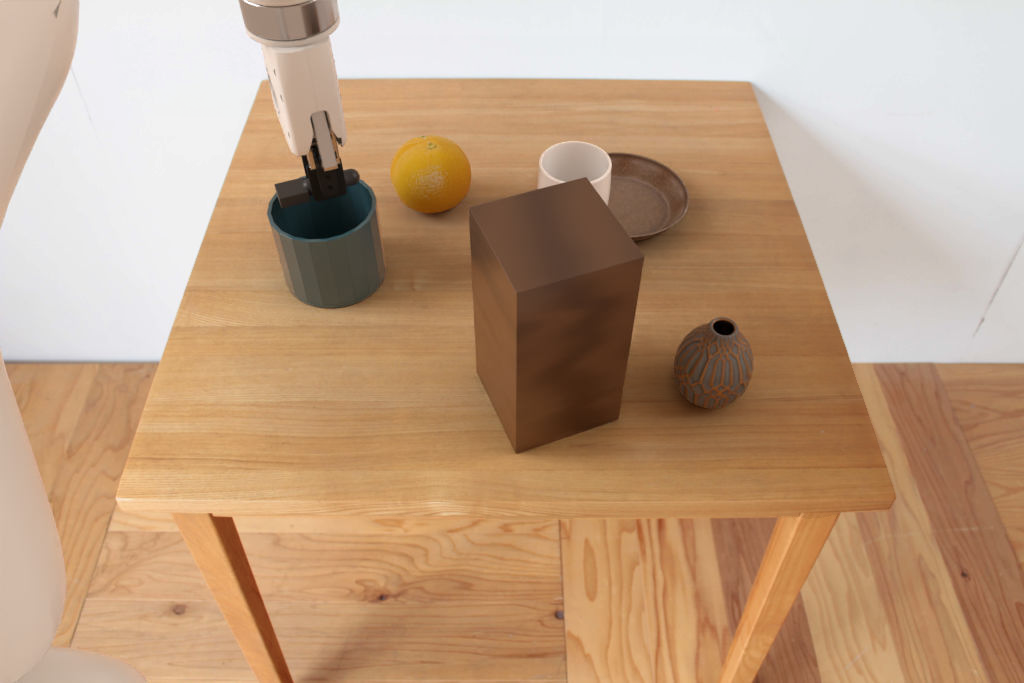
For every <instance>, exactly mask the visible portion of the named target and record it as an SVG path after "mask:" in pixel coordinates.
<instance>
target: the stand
mask: <svg viewBox="0 0 1024 683" xmlns="http://www.w3.org/2000/svg"><path fill="white" fill-rule="evenodd" d="M468 224H469V225H468V227H469V246H470V248H469V249H470V265H471V282H472V284H471V287H472V288H471V289H472V304H473V305H472V306H473V308H472V309H473V326H474V328H473V329H474V345H475V349H474V350H475V365H476V366H475V367H476V373H477V375H478V378H479V380H480V382H481V384H482V386H483V388H484V391H485V392H486V394H487V396H488V399H489V400H490V403H491V404H492V406H493V407H492V408H493V409H494V411H495V414H496V415H497V417H498V419H499V421H500V424H501V426H502V429H503V430H504V432H505V435H506V436H507V439H508V440H509V443H510V444H511V447H512V449H513V451H514V453H515V454H516V455H517V454H520V453H522V452H525V451H529V450H531V449H535V448H538V447H541V446H543V445H547V444H549V443H553V442H555V441H559V440H561V439H565V438H567V437H570V436H571V437H572V436H573V435H577V434H579V433H582V432H586V431H588V430H591V429H594V428H597V427H600V426H603V425H604V426H605V425H607V424H609V423H612V422H617V421H618V420H619V419H620V413H621V409H622V401H623V394H624V389H625V382H626V376H627V370H628V364H629V358H630V352H631V351H630V350H631V345H632V338H633V332H634V325H635V320H636V312H637V307H638V301H639V294H640V288H641V281H642V275H643V268H644V262H645V255H644V253H643V252H642V250H640V248H639V247H638V245H637V244H636V243H635V241H633V240H632V239H631V237H630V236H629V235H628V233H627V232H626V231H625V229H624V228H623V226H622V225H621V224H620V222H619V221H618V220H617V218H616V217H615V215H614V214H613V213H612V211H611V210H610V209H609V207H608V206H607V205H606V203H605V202H604V200H603V199H602V198H601V196H600V195H599V194H598V192H597V191H596V189H595V188H594V187H593V185H592V184H591V183H590V181H589V180H588V179H587V177H584V178H580V179H576V180H572V181H568V182H564V183H560V184H556V185H552V186H548V187H545V188H541V189H537V188H536V189H533V190H530V191H525V192H521V193H517V194H514V195H509V196H506V197H502V198H498V199H494V200H489V201H485V202H482V203H478V204H475V205H471V206H468Z"/></svg>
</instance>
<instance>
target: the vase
mask: <svg viewBox="0 0 1024 683" xmlns="http://www.w3.org/2000/svg"><path fill="white" fill-rule="evenodd" d="M754 363H755V362H754V354H753V348H752V346H751V344H750V342H749V340H748V339H747V337H746V336H745V335H744V334H743V333H742V332H741V331H740V329H739V327H738V324H737V323H736V322H735V321H734V320H733V319H731V318H729V317H725V316H718V317H715V318H713V319H712V320H710V321H709V322H708V323H703V324H701V325H698V326H696V327H695V328H693V329H692V330H690V332H688V333H687V334H686V335H685V336H684V337H683V339H682V340H681V342H680V343H679V345H678V347H677V349H676V352H675V355H674V359H673V368H672V369H673V377H674V381H675V384H676V387H677V389H678V390H679V392H680V394H681V395H682V397H684V398H685V399H686V400H688V402H690V403H691V404H692V405H695V406H697V407H700V408H703V409H719V408H725V407H728V406H729V405H732V404H733V403H734V402H736V401H737V400H738V399H740V397H742V395H743V394H744V393H745V391H746V390H747V388H748V387H749V385H750V382H751V380H752V377H753V373H754V368H755V367H754V366H755V364H754Z"/></svg>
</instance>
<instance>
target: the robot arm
mask: <svg viewBox="0 0 1024 683" xmlns="http://www.w3.org/2000/svg"><path fill="white" fill-rule="evenodd" d="M237 1H238V4H239V9H240V14H241V17H242V20H243V25H244V29H245V33H246V34H247V36H248V37H249V38H250V39H251V40H253V41H254V42H256V43H258V44H260V47H261V52H262V57H263V61H264V66H265V69H266V75H267V78H268V79H267V80H268V84H269V88H270V93H271V98H272V103H273V107H274V111H275V114H276V116H277V119H278V121H279V124H280V127H281V130H282V132H283V136H284V137H285V140H286V144H287V146H288V147H289V150H290V152H291V154H293V155H294V156H296V157H298V158H301V161H302V166H303V170H304V176H306V179H308V178H309V182H310V187H311V191H312V196H313V198H314V201H316V202H319V201H323V200H328V199H332V198H336V197H340V196H344V195H346V194H347V188H346V183H345V177H344V172H343V170H344V167H343V162H342V159H341V157H340V152H339V146H340V147H341V148H343V147H344V146H345V145H346V144H347V142H348V132H347V127H346V126H347V125H346V119H345V112H344V107H343V101H342V100H343V99H342V95H341V89H340V84H339V78H338V74H337V68H336V61H335V58H334V52H333V48H332V47H333V46H332V42H331V37H330V36H331V35H333V33H335V31H336V30H338V28H339V26H340V23H341V16H340V11H339V10H340V9H339V5H338V0H237ZM79 20H80V0H0V231H1V229H2V226H3V224H4V220H5V217H6V214H7V211H8V207H9V205H10V203H11V200H12V198H13V195H14V193H15V191H16V187H17V185H18V183H19V181H20V178H21V176H22V173H23V171H24V170H25V166H26V164H27V162H28V160H29V158H30V155H31V153H32V151H33V148H34V146H35V144H36V142H37V140H38V139H39V138H38V137H39V135H40V133H41V132H42V129H43V128H44V125H45V123H46V121H47V120H48V117H49V116H50V114H51V111H52V110H53V109H54V108H53V107H54V105H55V104H56V102H57V100H58V98H59V97H60V94H61V92H62V91H63V88H64V85H65V84H66V80H67V78H68V76H69V73H70V70H71V68H72V64H73V60H74V57H75V53H76V49H77V48H76V47H77V44H78V35H79V24H80V23H79V22H80V21H79ZM19 408H20V407H19V405H18V402H17V399H16V396H15V393H14V389H13V387H12V384H11V381H10V377H9V374H8V371H7V368H6V363H5V360H4V356H3V353H2V348H1V347H0V683H150V682H149V681H148V679H147V678H146V676H145V675H144V674H143V673H142V672H141V671H140V670H139V669H138V668H137V667H135V666H134V665H132V663H129V662H127V661H126V660H124V659H121V658H118V657H117V656H113V655H111V654H106V653H102V652H98V651H95V650H89V649H82V648H77V647H69V646H58V645H52V644H53V643H54V641H55V639H56V636H57V633H58V631H59V628H60V626H61V624H62V621H63V617H64V611H65V606H66V599H67V589H68V585H67V569H66V562H65V557H64V552H63V548H62V547H63V546H62V542H61V537H60V534H59V529H58V526H57V523H56V520H55V516H54V513H53V509H52V507H51V504H50V500H49V498H48V494H47V491H46V488H45V485H44V482H43V479H42V476H41V472H40V470H39V466H38V463H37V460H36V457H35V454H34V450H33V448H32V444H31V441H30V439H29V435H28V433H27V429H26V426H25V424H24V420H23V416H22V413H21V411H20V409H19Z"/></svg>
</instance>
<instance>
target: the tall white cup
mask: <svg viewBox="0 0 1024 683" xmlns="http://www.w3.org/2000/svg"><path fill="white" fill-rule="evenodd" d="M607 153H608V152H606V151H605V150H604V149H603V148H601V147H600V146H598V145H596V144H593V143H590V142H586V141H581V140H568V141H563V142H558V143H555V144H551V146H549V147H548V148H546V149H545V150H544V151H543V152H542V153H541V154H540V157H539V160H538V171H537V184H536V186H537V187H536V190H537V189H541V188H545V187H548V186H552V185H556V184H560V183H564V182H568V181H572V180H576V179H580V178H584V177H587V179H588V180H589V181H590V183H591V184H592V185H593V187H594V188H595V189H596V191H597V192H598V194H599V195H600V196H601V198H602V199H603V200H604V202H605V203H606V205H607V206H608V202H609V195H610V187H611V169H612V163H611V159H610V157H609V155H608V154H607Z"/></svg>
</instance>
